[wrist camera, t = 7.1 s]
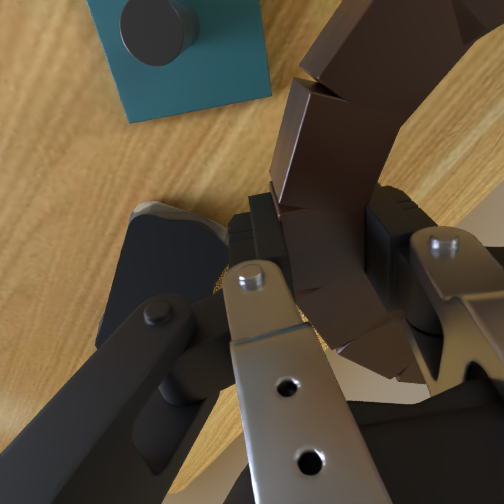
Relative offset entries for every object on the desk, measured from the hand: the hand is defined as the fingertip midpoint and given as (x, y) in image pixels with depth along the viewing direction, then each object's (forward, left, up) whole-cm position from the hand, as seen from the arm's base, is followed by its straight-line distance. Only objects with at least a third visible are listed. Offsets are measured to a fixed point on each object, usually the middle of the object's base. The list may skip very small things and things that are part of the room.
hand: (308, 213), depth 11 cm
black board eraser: (+11, +13, -17) cm, 25 cm away
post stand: (+4, -6, -17) cm, 19 cm away
